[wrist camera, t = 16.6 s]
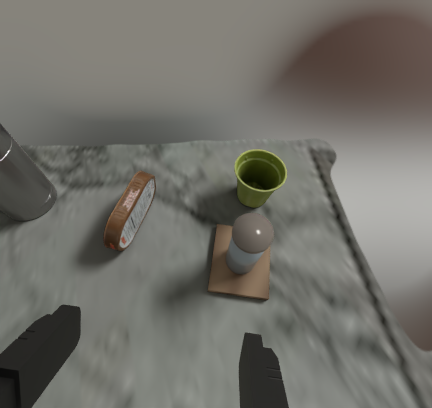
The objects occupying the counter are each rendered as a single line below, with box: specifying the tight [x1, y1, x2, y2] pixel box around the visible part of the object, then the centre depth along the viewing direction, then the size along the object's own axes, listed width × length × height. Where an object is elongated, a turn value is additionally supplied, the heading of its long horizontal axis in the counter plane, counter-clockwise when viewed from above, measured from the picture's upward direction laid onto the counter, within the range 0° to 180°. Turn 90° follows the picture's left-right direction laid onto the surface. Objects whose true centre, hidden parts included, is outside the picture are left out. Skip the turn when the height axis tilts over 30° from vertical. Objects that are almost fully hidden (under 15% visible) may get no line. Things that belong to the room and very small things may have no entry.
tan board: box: [208, 224, 270, 300], centre depth 46 cm, size 10×12×1 cm
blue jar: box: [226, 213, 274, 274], centre depth 40 cm, size 6×6×12 cm
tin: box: [103, 171, 156, 251], centre depth 45 cm, size 15×3×8 cm, turn 163°
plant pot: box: [234, 149, 287, 208], centre depth 50 cm, size 9×9×9 cm
